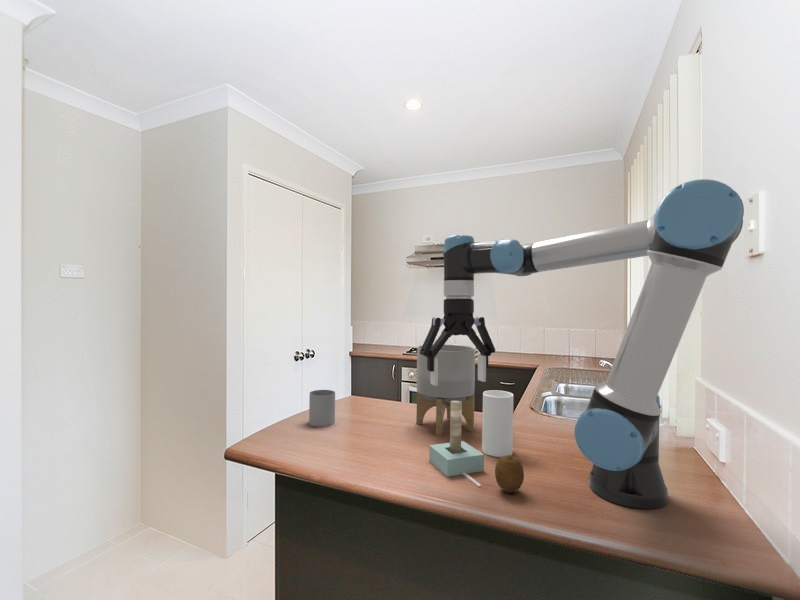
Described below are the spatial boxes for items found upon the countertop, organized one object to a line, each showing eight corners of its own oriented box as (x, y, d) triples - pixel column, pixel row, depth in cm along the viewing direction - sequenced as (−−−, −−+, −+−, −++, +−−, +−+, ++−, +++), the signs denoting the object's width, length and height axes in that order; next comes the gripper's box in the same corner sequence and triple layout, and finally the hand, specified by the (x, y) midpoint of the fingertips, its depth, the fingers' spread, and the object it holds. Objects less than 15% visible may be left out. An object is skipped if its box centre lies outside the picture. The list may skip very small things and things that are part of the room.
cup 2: (513, 458, 109) (514, 398, 109) (481, 455, 111) (482, 396, 111) (511, 447, 117) (512, 391, 117) (482, 444, 119) (483, 389, 119)
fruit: (488, 491, 91) (489, 454, 90) (504, 482, 95) (504, 447, 95) (514, 501, 86) (515, 463, 86) (529, 491, 90) (529, 455, 90)
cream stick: (481, 486, 93) (481, 485, 93) (478, 487, 92) (478, 485, 92) (465, 473, 99) (465, 472, 99) (462, 474, 99) (462, 472, 99)
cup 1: (308, 419, 140) (308, 390, 140) (332, 418, 142) (333, 389, 142) (310, 427, 132) (311, 396, 132) (336, 425, 134) (336, 394, 134)
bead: (483, 470, 101) (483, 454, 101) (447, 476, 97) (447, 459, 97) (463, 455, 110) (463, 440, 110) (429, 460, 107) (429, 445, 107)
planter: (424, 415, 147) (425, 342, 147) (477, 421, 141) (478, 345, 141) (408, 432, 129) (410, 349, 129) (469, 439, 123) (470, 352, 123)
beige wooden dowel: (462, 466, 103) (463, 403, 103) (452, 468, 102) (454, 404, 102) (457, 462, 106) (458, 400, 106) (447, 464, 105) (448, 401, 105)
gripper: (492, 298, 111) (492, 376, 111) (406, 297, 102) (406, 383, 102) (509, 298, 104) (509, 381, 104) (419, 297, 95) (418, 389, 95)
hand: (458, 382), depth 103 cm, fingers open, 13 cm apart
